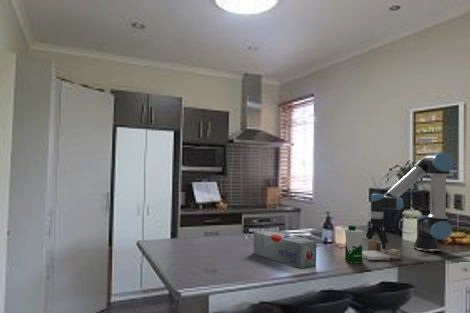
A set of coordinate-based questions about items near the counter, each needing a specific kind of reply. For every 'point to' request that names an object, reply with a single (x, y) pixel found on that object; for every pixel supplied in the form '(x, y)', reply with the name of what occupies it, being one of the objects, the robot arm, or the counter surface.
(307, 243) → the soda pack
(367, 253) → the tile
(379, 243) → the walnut cube
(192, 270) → the counter surface
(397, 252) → the maple block
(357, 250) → the soya milk
